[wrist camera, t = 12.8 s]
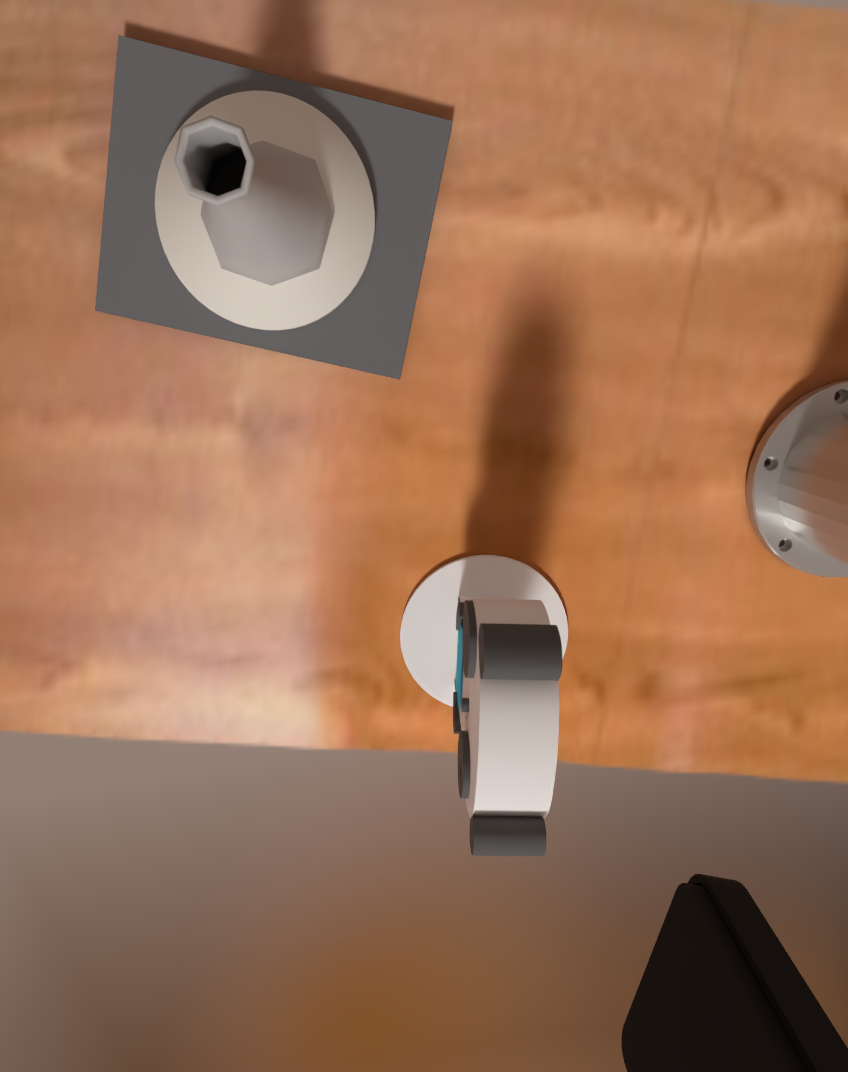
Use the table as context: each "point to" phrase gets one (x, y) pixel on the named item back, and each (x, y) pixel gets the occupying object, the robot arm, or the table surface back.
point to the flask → (255, 201)
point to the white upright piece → (494, 689)
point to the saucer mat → (351, 186)
